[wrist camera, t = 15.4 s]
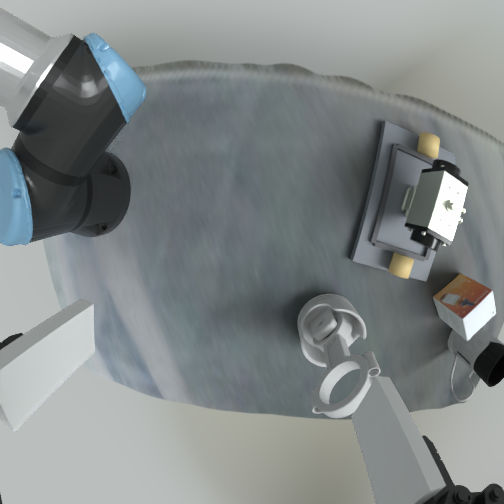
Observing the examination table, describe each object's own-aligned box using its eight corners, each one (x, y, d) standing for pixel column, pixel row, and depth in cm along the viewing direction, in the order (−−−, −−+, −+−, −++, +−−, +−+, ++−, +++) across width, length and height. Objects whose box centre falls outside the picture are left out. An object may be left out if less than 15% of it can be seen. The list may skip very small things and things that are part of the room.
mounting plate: (422, 279, 41) (437, 288, 36) (349, 258, 41) (360, 267, 36) (451, 156, 36) (468, 153, 31) (382, 123, 36) (395, 114, 31)
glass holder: (480, 330, 42) (518, 360, 27) (438, 376, 45) (469, 416, 30) (468, 309, 41) (512, 339, 27) (423, 359, 44) (457, 402, 29)
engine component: (365, 318, 43) (329, 281, 42) (416, 391, 23) (372, 346, 22) (319, 359, 45) (281, 326, 44) (341, 445, 25) (286, 412, 24)
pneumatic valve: (387, 231, 38) (426, 244, 27) (409, 163, 36) (452, 155, 24) (413, 244, 38) (455, 260, 27) (434, 178, 36) (479, 176, 24)
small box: (460, 272, 40) (493, 288, 30) (466, 294, 41) (497, 313, 30) (431, 296, 41) (462, 319, 31) (438, 318, 42) (467, 342, 32)
